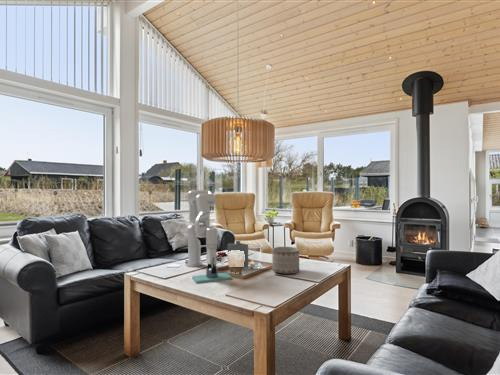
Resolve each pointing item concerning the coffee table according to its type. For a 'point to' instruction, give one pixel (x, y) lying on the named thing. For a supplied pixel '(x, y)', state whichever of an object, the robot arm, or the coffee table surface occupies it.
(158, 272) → the coffee table surface
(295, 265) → the planter
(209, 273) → the gunmetal ring
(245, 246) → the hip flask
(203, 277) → the piston stand
